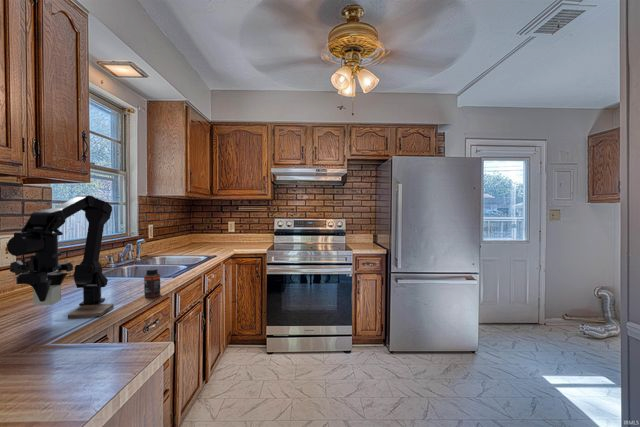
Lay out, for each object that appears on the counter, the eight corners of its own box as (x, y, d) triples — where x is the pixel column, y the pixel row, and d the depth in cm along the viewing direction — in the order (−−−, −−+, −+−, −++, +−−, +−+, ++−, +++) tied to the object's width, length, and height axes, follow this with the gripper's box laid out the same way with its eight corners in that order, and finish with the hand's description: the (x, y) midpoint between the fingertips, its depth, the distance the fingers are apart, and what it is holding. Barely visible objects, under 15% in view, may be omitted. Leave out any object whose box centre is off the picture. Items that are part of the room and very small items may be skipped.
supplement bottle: (163, 293, 136) (162, 267, 135) (156, 298, 130) (156, 270, 129) (148, 293, 136) (148, 267, 135) (141, 298, 130) (141, 270, 129)
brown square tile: (83, 308, 117) (83, 305, 117) (113, 306, 119) (113, 303, 119) (67, 318, 107) (67, 314, 107) (101, 316, 109) (101, 313, 109)
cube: (43, 300, 105) (43, 285, 105) (61, 299, 106) (60, 285, 106) (33, 305, 100) (33, 289, 100) (51, 304, 101) (51, 289, 101)
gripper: (36, 247, 110) (37, 291, 110) (-7, 256, 91) (-5, 310, 92) (73, 246, 112) (74, 290, 113) (38, 255, 94) (40, 307, 94)
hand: (47, 298), depth 103 cm, fingers closed on cube, 5 cm apart
